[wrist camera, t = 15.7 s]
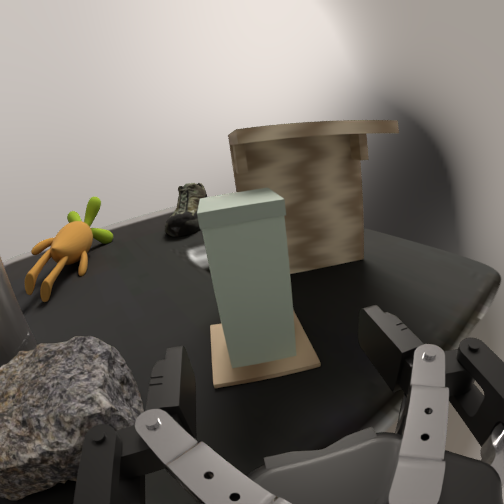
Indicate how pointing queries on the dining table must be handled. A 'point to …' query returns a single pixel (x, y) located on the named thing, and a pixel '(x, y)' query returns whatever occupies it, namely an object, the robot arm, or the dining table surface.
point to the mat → (261, 371)
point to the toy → (67, 248)
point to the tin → (250, 273)
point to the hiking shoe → (186, 211)
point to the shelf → (311, 183)
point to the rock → (59, 410)
